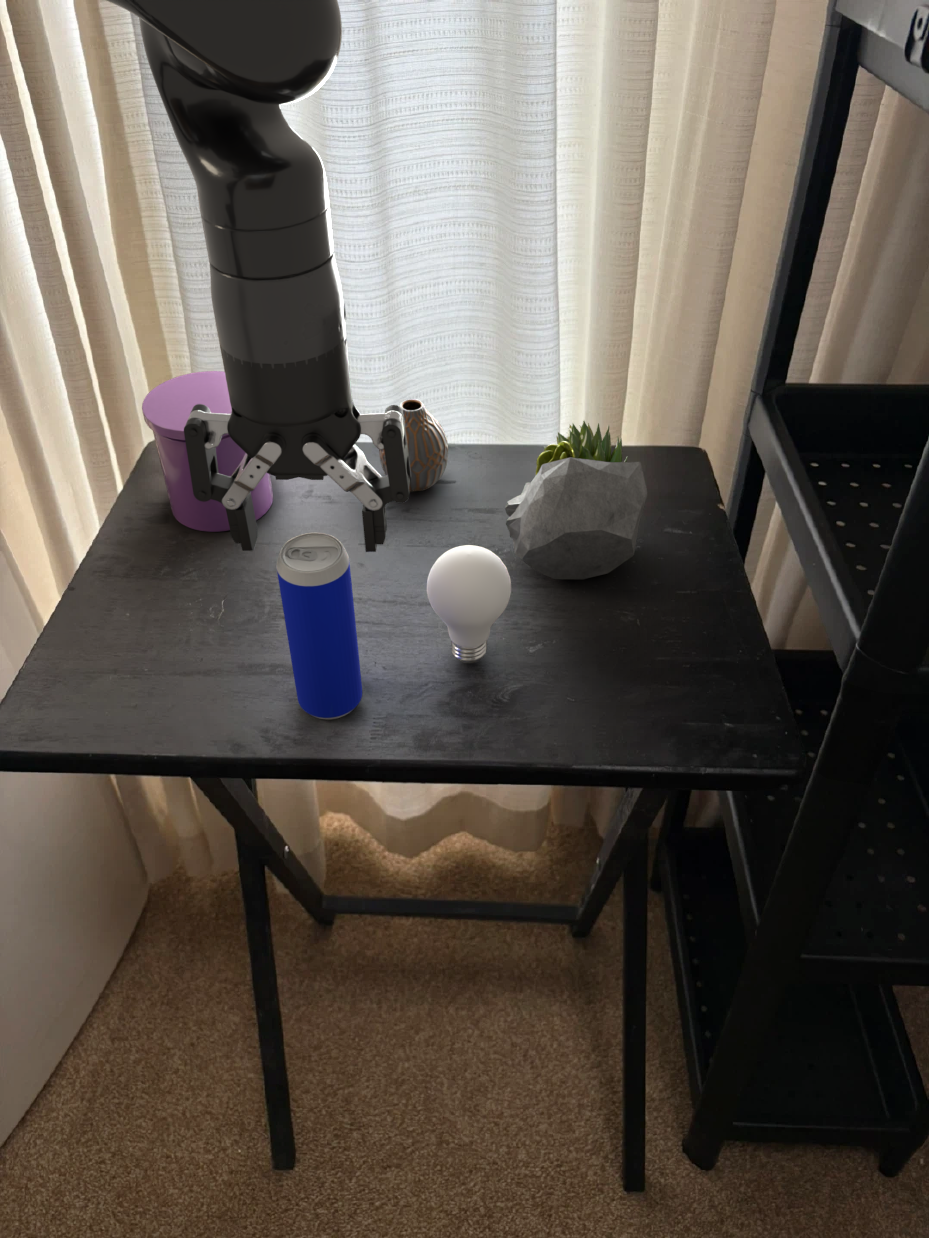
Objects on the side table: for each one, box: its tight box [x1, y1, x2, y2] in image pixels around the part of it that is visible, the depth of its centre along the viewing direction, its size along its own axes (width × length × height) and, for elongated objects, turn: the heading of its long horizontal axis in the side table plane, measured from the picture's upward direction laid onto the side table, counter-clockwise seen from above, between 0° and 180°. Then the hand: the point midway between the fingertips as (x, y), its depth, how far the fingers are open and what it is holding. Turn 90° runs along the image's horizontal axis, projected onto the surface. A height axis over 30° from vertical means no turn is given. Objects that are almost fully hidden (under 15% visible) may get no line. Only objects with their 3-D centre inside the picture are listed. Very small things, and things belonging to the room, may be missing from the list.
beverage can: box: [276, 532, 363, 720], centre depth 78 cm, size 5×5×15 cm
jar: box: [141, 370, 274, 533], centre depth 99 cm, size 11×11×12 cm
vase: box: [378, 398, 449, 492], centre depth 103 cm, size 7×7×9 cm
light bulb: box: [426, 544, 512, 664], centre depth 82 cm, size 7×7×11 cm
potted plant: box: [504, 419, 649, 580], centre depth 94 cm, size 12×13×15 cm
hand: (311, 544), depth 72 cm, fingers open, 8 cm apart
